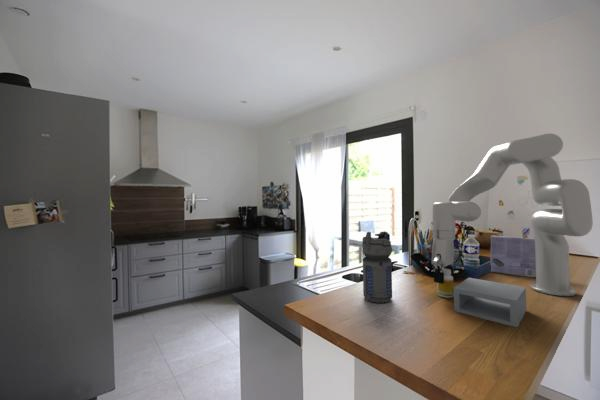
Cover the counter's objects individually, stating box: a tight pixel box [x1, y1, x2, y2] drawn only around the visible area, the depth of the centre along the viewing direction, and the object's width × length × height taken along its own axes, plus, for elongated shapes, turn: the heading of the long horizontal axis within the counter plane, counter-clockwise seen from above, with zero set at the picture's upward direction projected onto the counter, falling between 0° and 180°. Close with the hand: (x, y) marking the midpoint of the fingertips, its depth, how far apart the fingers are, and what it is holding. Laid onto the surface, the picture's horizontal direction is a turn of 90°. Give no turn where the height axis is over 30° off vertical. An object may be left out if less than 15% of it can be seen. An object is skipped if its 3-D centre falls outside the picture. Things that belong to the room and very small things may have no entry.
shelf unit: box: [453, 277, 527, 328], centre depth 86 cm, size 16×16×8 cm
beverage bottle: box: [361, 231, 393, 304], centre depth 99 cm, size 10×13×25 cm
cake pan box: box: [489, 235, 536, 278], centre depth 126 cm, size 19×5×18 cm, turn 49°
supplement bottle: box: [436, 269, 455, 299], centre depth 100 cm, size 5×5×10 cm
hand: (443, 280), depth 100 cm, fingers open, 9 cm apart
